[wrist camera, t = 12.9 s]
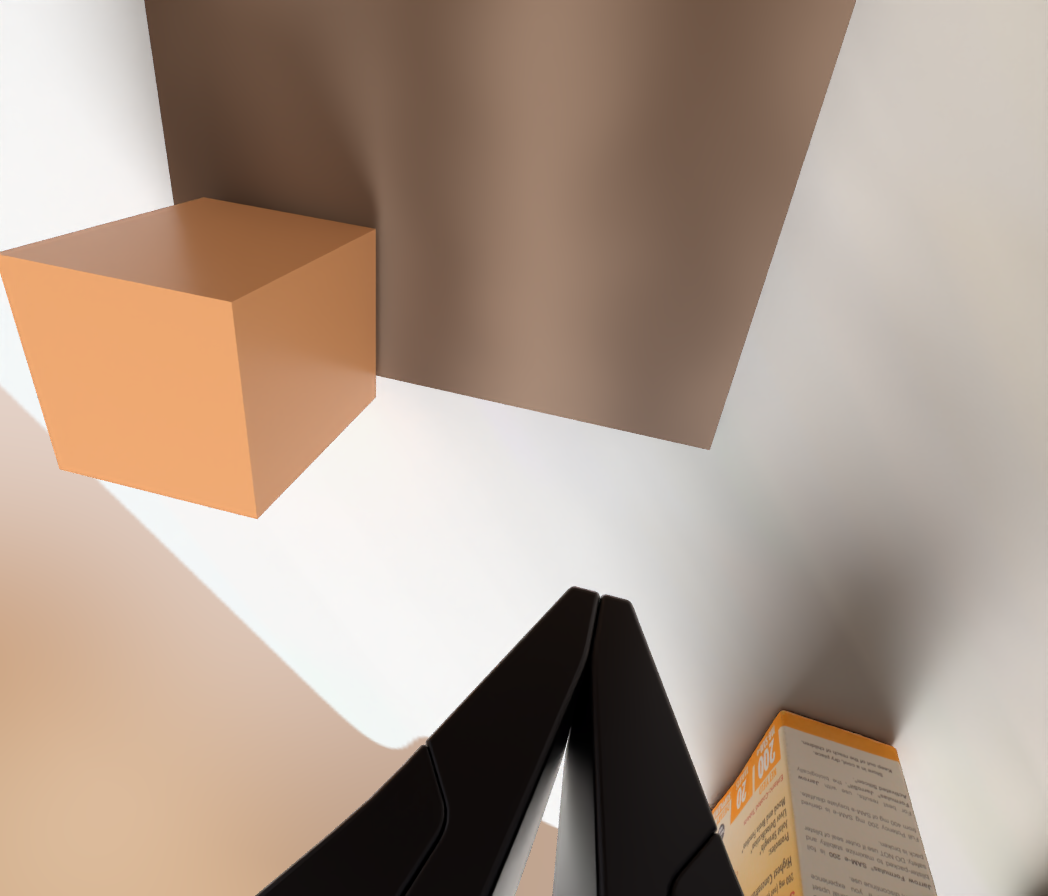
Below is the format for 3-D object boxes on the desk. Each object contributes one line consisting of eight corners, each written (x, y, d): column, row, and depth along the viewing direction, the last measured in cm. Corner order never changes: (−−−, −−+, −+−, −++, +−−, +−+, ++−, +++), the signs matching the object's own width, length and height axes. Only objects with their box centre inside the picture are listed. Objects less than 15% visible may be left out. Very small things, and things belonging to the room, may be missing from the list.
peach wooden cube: (375, 228, 18) (231, 302, 12) (375, 397, 21) (257, 519, 15) (203, 197, 19) (-6, 253, 13) (225, 364, 21) (59, 469, 16)
